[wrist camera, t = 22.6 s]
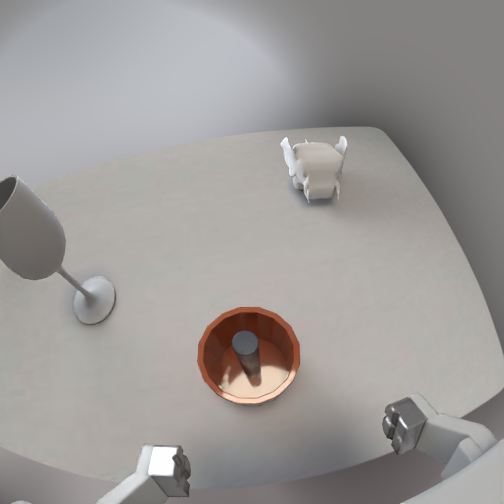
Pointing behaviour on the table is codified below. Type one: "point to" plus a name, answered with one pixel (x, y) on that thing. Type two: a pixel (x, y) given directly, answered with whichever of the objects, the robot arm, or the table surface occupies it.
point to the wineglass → (44, 248)
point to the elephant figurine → (315, 167)
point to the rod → (247, 352)
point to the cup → (270, 349)
